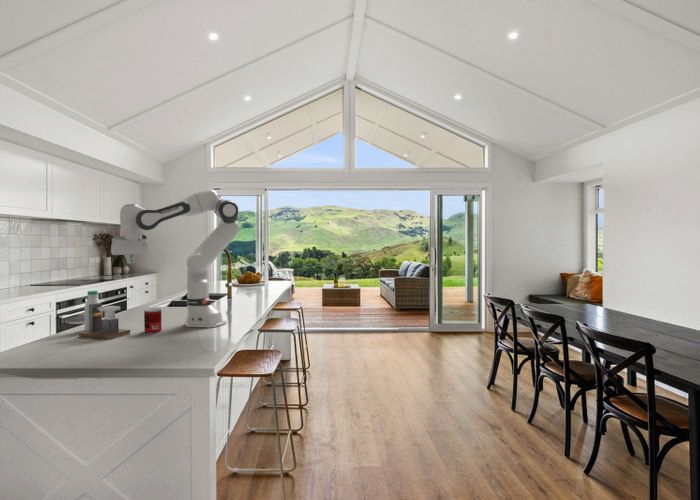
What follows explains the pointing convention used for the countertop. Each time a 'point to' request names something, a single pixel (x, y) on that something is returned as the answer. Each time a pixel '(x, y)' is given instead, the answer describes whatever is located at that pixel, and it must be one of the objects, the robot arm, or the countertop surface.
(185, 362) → the countertop surface
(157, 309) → the canned food
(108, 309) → the plunger
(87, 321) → the milk bottle
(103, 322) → the stand
